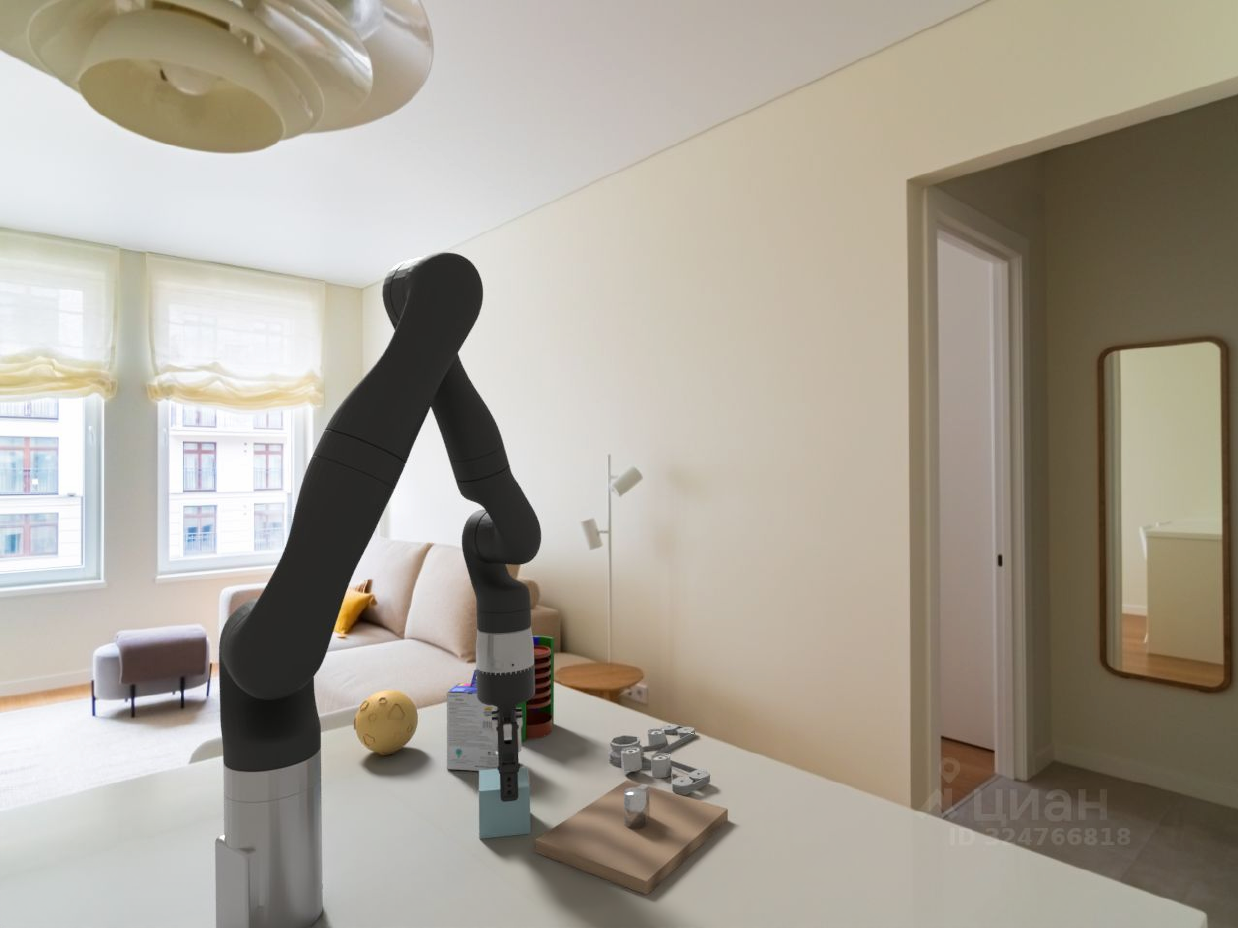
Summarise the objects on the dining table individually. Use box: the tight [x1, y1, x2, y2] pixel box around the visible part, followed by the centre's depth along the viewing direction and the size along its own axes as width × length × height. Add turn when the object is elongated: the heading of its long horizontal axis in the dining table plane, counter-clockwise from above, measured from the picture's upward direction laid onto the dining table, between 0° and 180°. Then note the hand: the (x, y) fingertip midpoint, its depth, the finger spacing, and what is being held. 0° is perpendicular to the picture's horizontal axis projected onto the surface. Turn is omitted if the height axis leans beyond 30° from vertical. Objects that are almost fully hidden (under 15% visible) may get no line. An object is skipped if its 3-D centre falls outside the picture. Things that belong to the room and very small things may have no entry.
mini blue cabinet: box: [478, 765, 531, 840], centre depth 96 cm, size 6×6×6 cm
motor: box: [516, 635, 555, 742], centre depth 129 cm, size 10×9×20 cm
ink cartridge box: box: [446, 669, 499, 772], centre depth 115 cm, size 10×6×14 cm, turn 81°
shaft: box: [624, 783, 650, 829], centre depth 93 cm, size 4×3×4 cm
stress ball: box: [353, 689, 419, 756], centre depth 120 cm, size 10×10×10 cm
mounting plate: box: [534, 779, 729, 896], centre depth 93 cm, size 20×16×2 cm
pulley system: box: [607, 723, 711, 796], centre depth 116 cm, size 27×5×15 cm
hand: (508, 784), depth 96 cm, fingers open, 8 cm apart
